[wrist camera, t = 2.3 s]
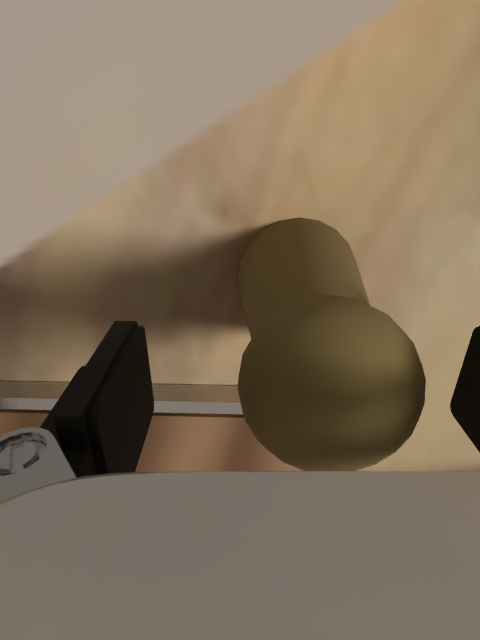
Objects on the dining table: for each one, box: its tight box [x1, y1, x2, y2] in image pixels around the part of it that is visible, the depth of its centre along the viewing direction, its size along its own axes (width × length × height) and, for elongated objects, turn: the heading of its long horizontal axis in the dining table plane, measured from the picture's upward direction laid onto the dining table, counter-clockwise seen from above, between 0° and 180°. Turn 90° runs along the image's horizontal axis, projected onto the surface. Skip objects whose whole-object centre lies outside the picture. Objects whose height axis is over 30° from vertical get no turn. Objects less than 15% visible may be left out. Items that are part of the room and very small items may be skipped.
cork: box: [237, 218, 426, 471], centre depth 14 cm, size 6×6×11 cm
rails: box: [0, 381, 243, 414], centre depth 25 cm, size 26×15×2 cm, turn 90°
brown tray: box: [0, 409, 304, 472], centre depth 23 cm, size 24×12×6 cm, turn 90°
